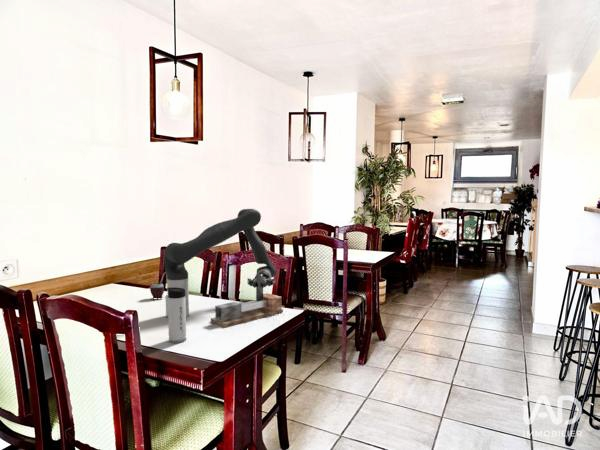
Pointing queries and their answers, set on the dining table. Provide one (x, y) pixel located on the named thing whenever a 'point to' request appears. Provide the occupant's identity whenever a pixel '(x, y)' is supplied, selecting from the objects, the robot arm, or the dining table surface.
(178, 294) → the travel mug
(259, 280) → the grey stepped block
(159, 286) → the mate gourd
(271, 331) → the dining table surface
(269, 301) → the tube rig
